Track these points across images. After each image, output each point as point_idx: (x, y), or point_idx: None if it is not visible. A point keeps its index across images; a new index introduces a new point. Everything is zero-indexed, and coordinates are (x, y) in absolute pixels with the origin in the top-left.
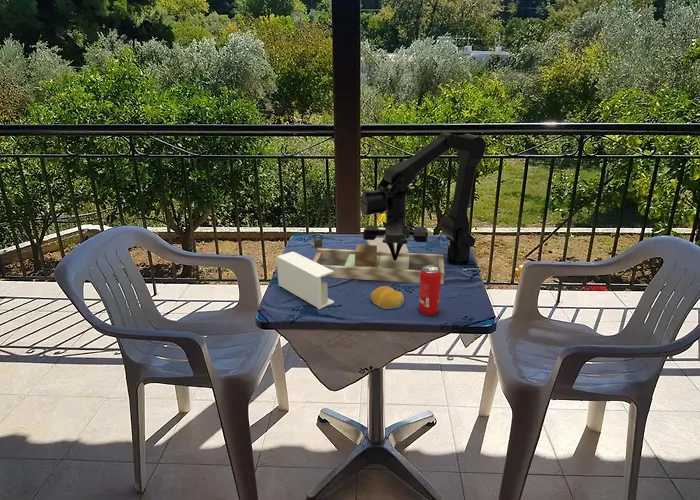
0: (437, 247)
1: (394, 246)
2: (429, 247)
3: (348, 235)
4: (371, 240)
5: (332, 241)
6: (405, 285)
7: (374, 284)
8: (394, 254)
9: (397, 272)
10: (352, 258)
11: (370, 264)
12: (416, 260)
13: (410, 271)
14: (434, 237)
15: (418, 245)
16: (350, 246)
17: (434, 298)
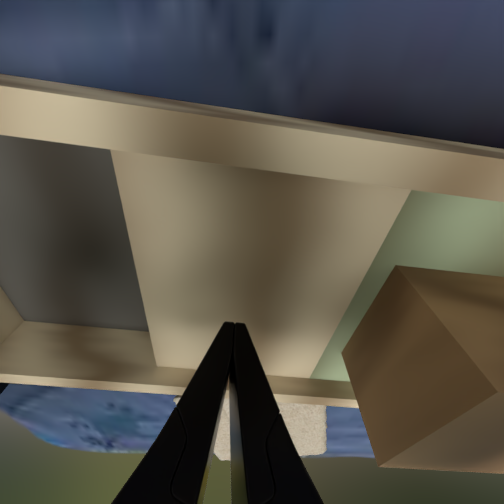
0: (95, 416)
1: (233, 471)
2: (121, 416)
3: (359, 455)
4: (313, 448)
5: None
6: (142, 3)
7: (443, 29)
8: (237, 371)
9: (212, 113)
10: None
11: (439, 279)
12: (124, 347)
13: (35, 91)
14: (123, 446)
15: (159, 423)
16: None
17: None
